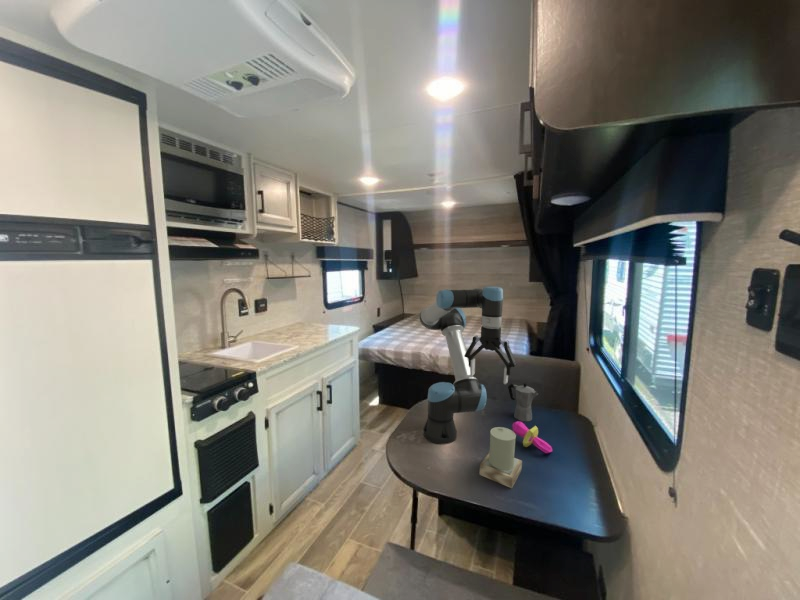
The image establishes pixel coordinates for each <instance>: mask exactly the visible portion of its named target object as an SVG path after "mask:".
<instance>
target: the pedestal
mask: <svg viewBox="0 0 800 600" xmlns="http://www.w3.org/2000/svg"><path fill="white" fill-rule="evenodd" d="M522 467H523V460H521V459H518V458H516V457H514V467H513V468H512V469H509V470H501V469H498V468H495V467H494V466H492V465H491V464H490V462H489V452H488V453H487V454H486V455H485V457H484V459H483V460H482V461H481V463H480V464H479V473H478V474H479V475H480V476H482V477H484V478H487V479H489V480H490V481H493V482H496V483H498V484H499V485H503V486H505V487H508V488H509V489H513V487H514V486H515V483H516V482H517V480H518V477H519V476H520V474H521V472H522Z"/></svg>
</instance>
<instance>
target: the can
mask: <svg viewBox="0 0 800 600" xmlns="http://www.w3.org/2000/svg"><path fill="white" fill-rule="evenodd" d="M489 433H490V434H489V451H488V453H489V462H490V464H491V465H492V466H494V467H495V468H498V469H501V470H509V469H512V468H513V467H514V458H515V450H516V437H517V434H515V433H514V431H513V429H509V428H508V427H503V426H497V427H496V426H495V427H493V428H491V429H490V431H489Z"/></svg>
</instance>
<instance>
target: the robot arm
mask: <svg viewBox="0 0 800 600" xmlns="http://www.w3.org/2000/svg"><path fill="white" fill-rule="evenodd" d="M435 299H436V300H435V301H433V302H432V303H431V304H430V305H429V306H426V307H424V308H423V309H422V310H421V311H420V313H419V317H418V318H419V322H420V323H421V325H422V326H423V327H424V328H426V329H428V330H431V331H441V335H443V336H444V337H445V340H446V345H447V348H448V353H449V356H450V357H449V358H450V361H451V365H452V371H453V374H454V379H455V380H454V382H453V384H452V383H451V382H446V381H439V382H436V383H433V384H432V385H430V387H428V390H427V391H428V392H427V418H426V421H425V424H424V426H423V431H422V433H423V437H424V439H426V440H427V441H429V442H430V443H432V444H433V443H434V444H438V445H446V444H451V443H453V442H454V441H456V439H457V437H458V436H457V435H458V433H457V432H458V431H457V428H456V424H455V420H454V414H458V413H459V414H460V413H461V414H462V413H472V412H474V413H475V412H479V411H483V409H485V408H486V404H487V400H488V398H487V389H486V386H485V385H484V384H482V383H479V379H478V377H477V378H476V376H474V375H475V373H476V358H475V357H476V356H477V355H478V354H479V353H480V352H481V351H482V350H483V349H484V350H486V351H491V352H493V351H494V352H495V353H496V354H497V355H498V356H499V358H500V360H501V361H502V362H503V363H504V365H505V366H504V370H503V384H504V385H507V384H508V381H509V377H510V375H511V374H512V368H515V367H516V366H517V361H516V360H515V359H516V358H515V356H514V354H513V352H512V349H511V347H510V341H509V340H501V337H502V328H501V327H502V320H503V306H504V305H503V301H504V289H503V288H502V287H501V286H484V287H483V289H482V288H473V289H449V288H447V289H440V290H438V291H437V293H436V297H435ZM469 308H470V309H472V308H474V309H475V308H479V309H481V327H480V336H478V335H475V336H472V341H471V343H470V345H469V346H468V348H467V347H466V343H465V340H464V336H463V335H464V334H463V332H464V330H465V328H466V325H467V321H466V319H467V317H466V314H465V312H464V310H462V309H469ZM477 343H480V344H481V345H479V346H478V348H477V349H475V347H476V345H477ZM501 345H502V347H503V349H504V351H505V352H504V351H503V350H502V347H501ZM474 349H475V350H474ZM473 350H474V351H473ZM472 351H473V352H472Z"/></svg>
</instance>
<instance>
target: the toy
mask: <svg viewBox="0 0 800 600" xmlns="http://www.w3.org/2000/svg"><path fill="white" fill-rule="evenodd" d="M512 431H513V432H514V433H515V434H516V436H519V437H522V438H523V440H522V444H523V445H522V446H523V447H524V448H528V447H529V446H531V445H532V444H533V445H534V446H535V447H536V448H537V449H539V450H540V451H542V452H543V453H545V454H549V453H551V452H553V447H552V446H551V445H550V444H549V443H548V442H546V440H543V439H542V438H540V437H538V435H539V427H537V426H536V425H534V426H533V427H531V428H530V429H529V428H528V427H527V426H526V424H525V423H523V421H520V420H517V421H515V422H513V423H512Z"/></svg>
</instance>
